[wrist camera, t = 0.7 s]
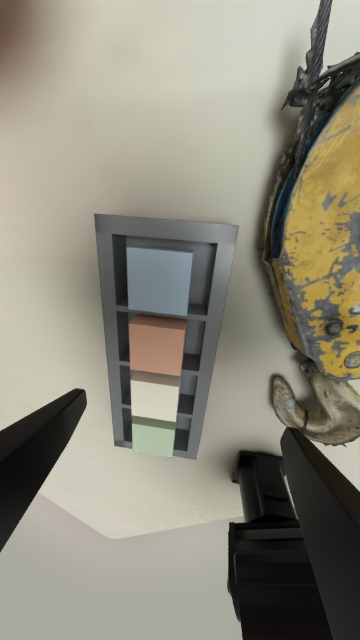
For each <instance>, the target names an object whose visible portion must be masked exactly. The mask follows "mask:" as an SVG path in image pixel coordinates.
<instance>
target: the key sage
mask: <svg viewBox="0 0 360 640" xmlns="http://www.w3.org/2000/svg"><path fill="white" fill-rule="evenodd" d="M176 424H177V417H176V422H172V421H166V420H159V419H153V418H147V417H140V416H135V417H134V420H133V422H132V442H133V451H134V452H140V453H146V454H152V455H157V456H163V457H169V458H172V456H173V449H174V442H175V434H176Z"/></svg>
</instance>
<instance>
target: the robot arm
mask: <svg viewBox="0 0 360 640" xmlns="http://www.w3.org/2000/svg"><path fill="white" fill-rule="evenodd" d="M86 405H87V399H86V391H85V390H84V389H79V388H76V389H73V390H72V391H70V392H68V393H66V394H65V395H63V396H61V397H59V398H58V399H56V400H54V401H52V402H51V403H49V404H47V405H45V406H43V407H42V408H40V409H38V410H36V411H35V412H33V413H31V414H29V415H28V416H26V417H24V418H22V419H21V420H19V421H17V422H15V423H14V424H12V425H10V426H8V427H7V428H5V429H3V430H1V431H0V552H1V550H2V549H3V547H4V546H5V544H6V542H7V541H8V539H9V538H10V536H11V534H12V533H13V531H14V530H15V528H16V526H17V525H18V523H19V521H20V520H21V518H22V517H23V515H24V513H25V512H26V510H27V509H28V507H29V505H30V504H31V502H32V500H33V499H34V497H35V496H36V494H37V492H38V491H39V489H40V488H41V486H42V484H43V483H44V481H45V479H46V478H47V476H48V475H49V473H50V471H51V470H52V468H53V467H54V465H55V463H56V462H57V460H58V458H59V457H60V455H61V454H62V452H63V450H64V449H65V447H66V445H67V444H68V442H69V440H70V438H71V436H72V434H73V432H74V430H75V428H76V426H77V424H78V422H79V420H80V418H81V416H82V414H83V412H84V410H85V408H86ZM280 445H281V450H282V455H283V458H281V457H275V456H269V455H262V454H256V453H250V452H244V451H241V452H239V454H238V457H237V460H236V463H235V466H234V470H233V473H232V476H231V481H232V482H233V483H237V484H240V492H241V499H242V506H243V513H244V519H245V523H234V522H230V523H229V532H228V537H229V538H228V543H229V544H228V545H229V548H228V551H229V552H228V557H229V558H228V562H229V563H228V565H229V566H228V581H227V588H228V592H229V593H230V595H231V596H232V599H233V605H234V609H235V613H236V616H237V619H238V621H239V622H241V628H242V637H243V640H360V491H359V490H358V489H357V488H356V487H355V486H354V485H353V484H352V483H351V482H350V481H349V480H348V479H347V478H346V477H345V476H344V475H343V474H342V473H341V472H340V471H339V470H338V469H337V468H336V467H335V466H334V465H333V464H332V463H331V462H330V461H329V460H328V459H327V458H326V457H325V456H324V455H323V454H322V453H321V451H320V450H319V449H318V448H317V447H316V446H315V445H314V444H313V443H312V442H311V441H310V440H309V439H308V438H307V437H306V436H305V435H304V434H303V433H302V432H301V431H300V430H299V429H297V428H294V427H286V429H285V431H284V433H283V435H282V437H281V440H280ZM285 475H287V480H288V485H289V489H290V493H291V496H292V499H293V503H294V506H295V510H296V513H297V516H298V520H297V517H296V514H295V510H294V507H293V504H292V501H291V498H290V495H289V492H288V489H287V486H286V483H285V480H284V476H285Z"/></svg>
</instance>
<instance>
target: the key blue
mask: <svg viewBox="0 0 360 640" xmlns="http://www.w3.org/2000/svg"><path fill="white" fill-rule="evenodd" d="M193 260H194V251H191V250H180V249H170V248H159V247H148V246H132V247H127V277H128V309H131V310H139V311H148V312H156V313H165V314H173V315H182V316H187V311H188V307H189V298H190V289H191V279H192V269H193Z"/></svg>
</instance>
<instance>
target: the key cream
mask: <svg viewBox="0 0 360 640" xmlns="http://www.w3.org/2000/svg"><path fill="white" fill-rule="evenodd" d="M181 376H182V374H181V375H180V376H175V375H168V374H160V373H153V372H146V371H139V370H136V371H135V373H134V374H133V376H132V378H131V409H132V415H134V416H140V417H147V418H153V419H159V420H166V421H172V422H176V417H177V411H178V404H179V395H180V385H181Z"/></svg>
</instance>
